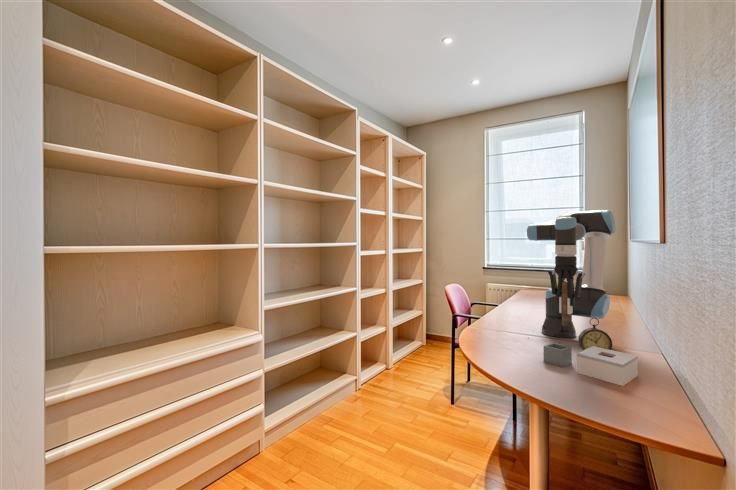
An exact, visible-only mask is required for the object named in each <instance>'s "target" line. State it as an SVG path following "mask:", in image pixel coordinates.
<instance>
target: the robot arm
mask: <svg viewBox="0 0 736 490" xmlns="http://www.w3.org/2000/svg"><path fill="white" fill-rule="evenodd" d="M615 233H616V221H615V217H614V214H613V212H612V211H611V210H610V209H598V210H582V211H580V210H579V211H577V210H576V211H572V212H567V213H565V214H562V215H559V216H557V217H556V218H555V219H553V220H548V221H546V222H543V223H533V224H529V225H528V226H527V229H526V237H527V239H528V241H529V240H530V241H535V242H537V241H540V242H542V241H543V242H544V241H555V242H554V243H555V244H554V245H555V246H554V249H555V250H554V255H555V257H554V263H555V266H554V268H553V269H552V270H548V271H547V273H548V276H549V279H550V289H547V290H546V291H545V298H544V299H545V318H544V321H543V324H542V326H541V333H542V334H544V335H546V336H549V337H554V338H563V339H564V338H565V339H566V338H567V339H570V338H571V339H572V338H574V337H576V336H577V330H576V328H575V326H574V322H573V316H575V317H584V318H590V319H592V318H597V319H598V320H602V319H604V318H605V317H606V316H607V314H608V312H609V310H610V305H611V304H610V303H611V302H610V301H611V298H610V295H609V294H607V290H605V288H604V285H603V284H604V274H605V264H606V263H605V261H606V249H607V240H609V239H610V238H611V235H612V234H615ZM583 238H584V239H585V245H584V255H583V263H582V264H583V266H582V272H581V271H579V270H578V268H577V261H578V260H577V256H576V255H577V254H578V253H577V241H580V240H582V239H583ZM556 275H558V277H557V276H556ZM574 276H576V279H575V278H574ZM565 279H566V281H567V282H568V289H569V298H567V314H570V326H569V327H565V326H562V282H563V281H565ZM574 280H575V283H574Z"/></svg>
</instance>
